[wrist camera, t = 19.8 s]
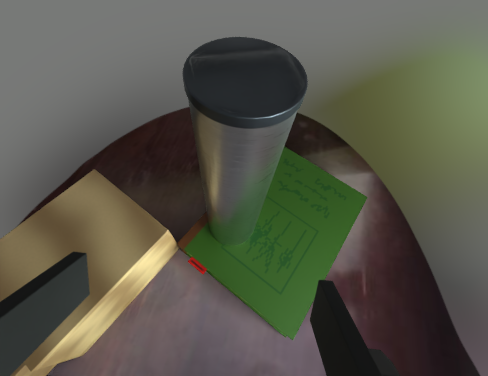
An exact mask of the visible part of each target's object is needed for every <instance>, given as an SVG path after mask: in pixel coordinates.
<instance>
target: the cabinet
mask: <svg viewBox="0 0 488 376" xmlns="http://www.w3.org/2000/svg"><path fill="white" fill-rule="evenodd" d="M178 249H179V246H178V245H177V242H176V241H175V239H174V238H173V236H172V235H171V233H170V232H169V230H168V229H167V228H165V227H164V226H163V225H162V224H161V223H159V222H158V221H157V220H156V219H155V218H153V217H152V216H151V215H150V214H148V213H147V212H146V211H145V210H144V209H142V208H141V207H140V206H139V205H138V204H136V203H135V202H134V201H133V200H131V199H130V198H129V197H128V196H127V195H125V194H124V193H123V192H122V191H121V190H119V189H118V188H117V187H116V186H114V185H113V184H112V183H111V182H110V181H108V180H107V179H106V178H105V177H104V176H102V175H101V174H100V173H99V172H98V171H96V170H95V169H94V170H93V171H91V172H90V173H89V174H87V175H86V176H85V177H83V178H82V179H81V180H79V181H78V182H77V183H75V184H74V185H72V186H71V187H70V188H68V189H67V190H66V191H64V192H63V193H62V194H60V195H59V196H58V197H56V198H55V199H54V200H52V201H51V202H50V203H48V204H47V205H46V206H44V207H43V208H42V209H40V210H39V211H37V212H36V213H35V214H33V215H32V216H31V217H29V218H28V219H27V220H25V221H24V222H23V223H21V224H20V225H19V226H17V227H16V228H15V229H13V230H12V231H11V232H9V233H8V234H6V235H5V236H4V237H3V238H1V239H0V302H1V301H2V300H3V299H5V298H6V297H8V296H9V295H11V294H12V293H14V292H15V291H17V290H18V289H19V288H21V287H22V286H24V285H25V284H27V283H28V282H30V281H31V280H32V279H34V278H35V277H37V276H38V275H40V274H41V273H43V272H44V271H46V270H47V269H48V268H50V267H51V266H53V265H54V264H56V263H57V262H59V261H60V260H62V259H63V258H64V257H66V256H67V255H69V254H70V253H72V252H82V253H87V265H88V277H89V290H90V295H89V296H88V297H87V298H86V299H85V300H84V301H83V302H82V303H81V304H80V305H79V306H78V307H77V308H76V309H75V310H74V311H73V312H72V313H71V314H70V315H69V316H68V317H67V318H66V319H65V320H64V321H63V322H62V323H61V324H60V325H59V326H58V327H57V328H56V329H55V330H54V331H53V332H52V334H51V335H50V336H49V337H48V338H47V339H46V340H45V341H44V342H43V343H42V344H41V345H40V346H39V347H38V348H37V349H36V350H35V351H34V352H33V353H32V354H31V355H30V356H29V357H28V358H27V359H26V360H25V361H24V363H25V365H26V366H27V367H28V369H29V370H30V371H31V372H32V371H35V370H38V369H41V368H45V367H48V366H51V365H54V364H57V363H61V362H64V361H67V360H70V359H74V358H77V357H80V356H83V355H84V354H85V353H86V352H87V351H88V350H89V348H90V347H91V346H92V345H93V344H94V343H95V342H96V341H97V340H98V338H99V337H100V336H101V335H102V334H103V333H104V332H105V331H106V330H107V328H108V327H109V326H110V325H111V324H112V323H113V322H114V321H115V320H116V318H117V317H118V316H119V315H120V314H121V313H122V312H123V311H124V310H125V308H126V307H127V306H128V305H129V304H130V303H131V302H132V301H133V299H134V298H135V297H136V296H137V295H138V294H139V293H140V292H141V291H142V289H143V288H144V287H145V286H146V285H147V284H148V283H149V282H150V281H151V279H152V278H153V277H154V276H155V275H156V274H157V273H158V272H159V271H160V269H161V268H162V267H163V266H164V265H165V264H166V263H167V262H168V261H169V259H170V258H171V257H172V256H173V255H174V254H175V253H176V252H177V251H178Z"/></svg>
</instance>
